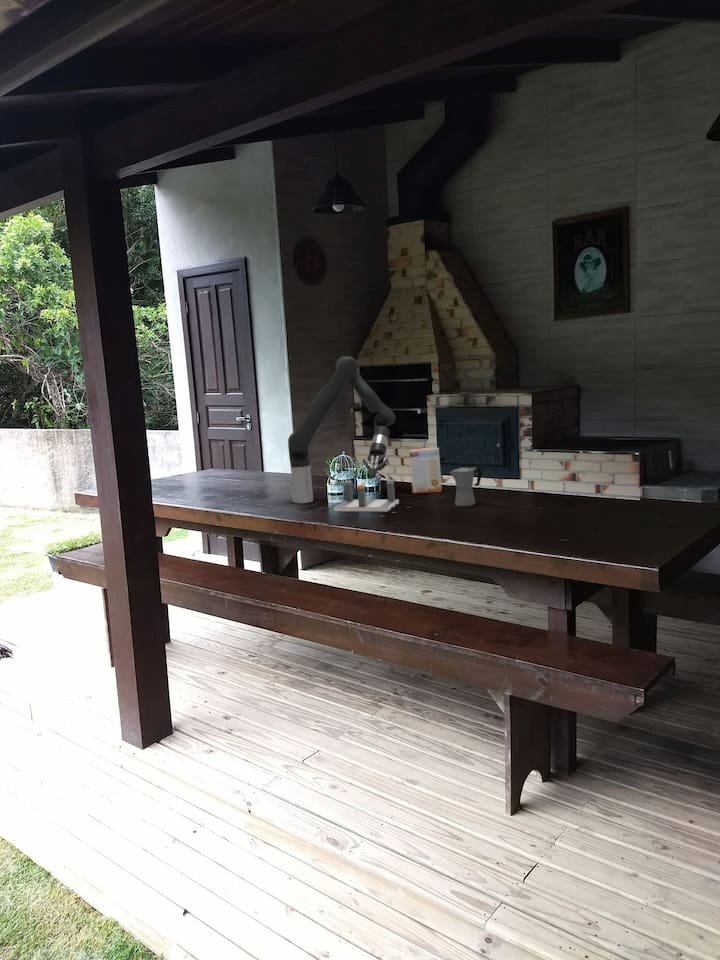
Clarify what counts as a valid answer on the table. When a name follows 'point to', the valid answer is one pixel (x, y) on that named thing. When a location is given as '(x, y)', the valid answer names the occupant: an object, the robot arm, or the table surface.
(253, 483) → the table surface
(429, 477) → the cracker box
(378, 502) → the grey base with posts
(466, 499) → the coffeepot
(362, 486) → the breaker
